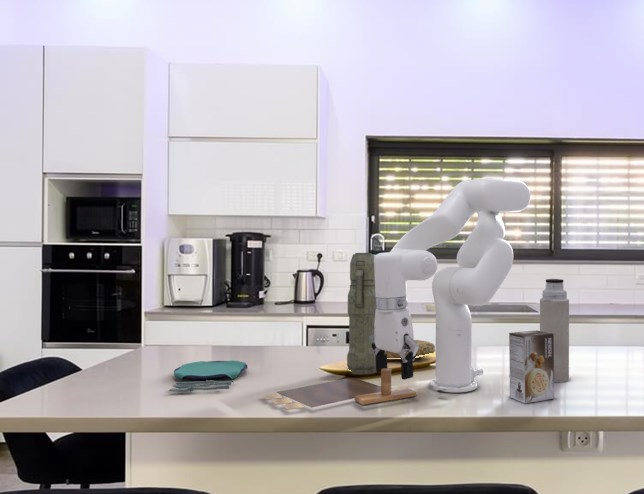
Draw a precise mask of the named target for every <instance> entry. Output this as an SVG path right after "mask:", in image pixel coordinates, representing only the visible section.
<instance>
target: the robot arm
mask: <svg viewBox="0 0 644 494" xmlns="http://www.w3.org/2000/svg"><path fill="white" fill-rule="evenodd" d="M531 197H532V195H531V190H530V188H529V186H528V185H527V184H526V183H525V182H524V181H521V180H517V179H501V178H488V177H487V178H477V179H468V180H467V179H466V180H463V181H461V182H459V183H457V184H456V185H454V187H453V188H452V190H450V192H449V193H448V195H447V196H446V197H445V198H444V199H443V201H442V202H441V203H440V205H439V206H438V207H437V208H436V210H435V211H433V213H432V214H431V215H430V216H429V217H427V218H425V219H424V220H422V221H421V222H420V223H418V224H417V225H415V226H414V227H412V228H411V229H409V230H408V231H406V233H405V234H403V235H402V236H401V237H400V238H399V240H398V241H397V242H396V243H395V245H394V246H393V247H392V249H391V250H390V251H389V252H388V251H387V252H380V253H377V254H376V255H374V257H375V258H374V271H375V294H376V312H375V325H374V333H373V334H372V335H370V341H371V344H372V348H373V350H374V355H375V358H376V372H375V373H381V369H383V368H389V367H388V360H387V354H384V353H385V352H386V351H389V352H393V353H399V355H400V357H401V359H402V360H401V361H402V362H400V375H401V379H402V380H403V381H405V380H408V379H411V378H414V361H415V360H416V359H415V357H416V355H417V351H418V348H419V345H418V344H417V343H416V342H415V341H414V340H415V337H414V327H413V320H412V316H411V312H410V309H408V293H407V292H408V291H407V290H408V289H407V287H408V286H407V282H408V281H426V280H429V279H431V278H432V277H433V278H432V282H431V290H432V296H433V302H434V309H435V378H433V379H431V380H430V381H429V385H430V386H432V387H433V388H434V387H435V388H437V389H439V390H437V391H438V392H443V393H453V394H454V393H456V394H457V393H468V392H472V391H475V390H477V389H478V382H477V380H475V378H476V377H480V376H483V374H484V370H483V368H482V367H479V368H474V367H472V364H473V363H472V362H473V361H472V360H473V358H472V356H473V354H472V352H473V351H472V350H473V346H472V345H473V344H472V343H473V342H472V341H473V340H472V339H473V338H472V337H473V320H472V314H471V312H470V311H471V310H470V309H469V306H471V307H472V306H474V307H481V306H484V305H487V304H488V303H489V302H490V301H491V300H492V299H493V298H494V296H495V295H496V293H497V292H498V290H499V288H500V287H501V286H502V284H503V282H504V281H505V279H506V278H507V276H508V275H509V273H510V271H511V269H512V267H513V263H514V249H513V247H512V245H511V244H510V242H508V241H507V240H505V235H506V229H505V225H504V222H503V220H502V216H501V213H502V214H503V213H518V212H522V211H524V210H526V209H527V208H528V206H529V205H530V202H531ZM475 213H477V222H476V225H475V226H474V228H473V230H472V231H471V232H470V233H469V235H468V236H467V238H466V240H465V241H464V242H463V244H462V245H461V246H460V248H459V249H458V252H457V254H456V263H457V265H458V266H446V267H444V268H441V269H439V270H438V261H437V258H436V256H435V255H434V254H433V253H432V252H431V251H428V250H429V249H431V248H433V247H435V246H437V245H440V244H444V243H446V242H448V241H451V240H452V239H454V238H456V237H458V235H459V234H460V233H461V232H462V230H463V229H464V227H465V226H466V225H467V223H468V222H469V221H470V219H471V218H472V217H473V216H474V215H475ZM437 270H438V271H437ZM404 353H407V355H406V356H405V354H404Z"/></svg>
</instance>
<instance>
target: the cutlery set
mask: <svg viewBox="0 0 644 494" xmlns="http://www.w3.org/2000/svg"><path fill="white" fill-rule="evenodd" d="M246 370H248V364H246V362H244V361H240V360H233V359H232V360H213V361H212V360H209V361H202V360H201V361H193V362H189V363H185V364H184V363H183V364H182V365H181V366H179V367H177V368H175V369H174V370H173V376H174V377H175V378H177V379H182V380H184V379H193V380H194V379H196V380H197V379H198V380H199V379H206V380H205V381H178V382H175V384H173V385H172V387H173V388H169V390H168V392H172V393H173V392H174V393H175V392H190V393H191V392H194V391H195V390H199V391H213V390H214V391H215V390H229V389H230V386H231V385H232V384H234V380H235V379H236V378H237V377H238V376H239V375H240V373H243V372H245V371H246ZM225 377H229V378H230V380H213V379H217V378H225ZM207 379H210V380H207Z"/></svg>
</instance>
